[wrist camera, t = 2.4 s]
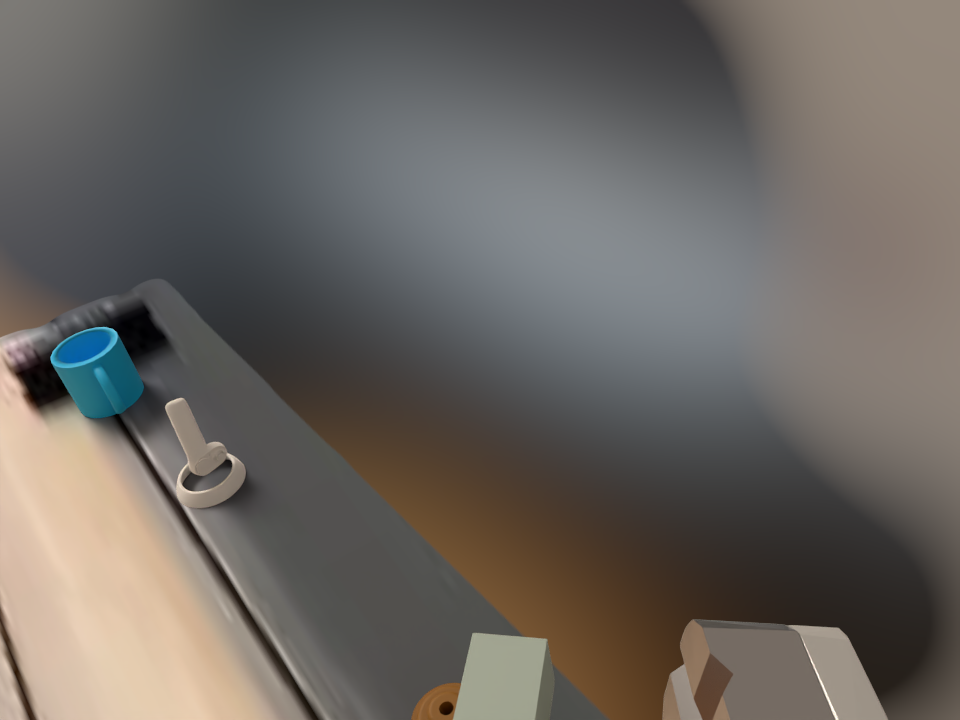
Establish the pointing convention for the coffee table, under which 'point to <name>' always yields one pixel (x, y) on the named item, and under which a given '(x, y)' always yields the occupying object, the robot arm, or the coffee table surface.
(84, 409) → the mug
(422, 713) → the ornamental finial
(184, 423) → the vr controller
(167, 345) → the coffee table surface
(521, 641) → the gray-green block
